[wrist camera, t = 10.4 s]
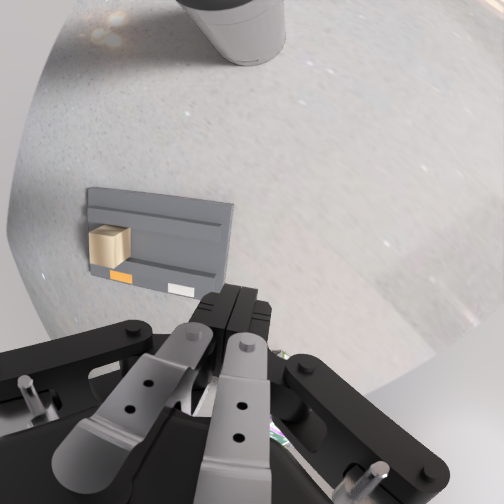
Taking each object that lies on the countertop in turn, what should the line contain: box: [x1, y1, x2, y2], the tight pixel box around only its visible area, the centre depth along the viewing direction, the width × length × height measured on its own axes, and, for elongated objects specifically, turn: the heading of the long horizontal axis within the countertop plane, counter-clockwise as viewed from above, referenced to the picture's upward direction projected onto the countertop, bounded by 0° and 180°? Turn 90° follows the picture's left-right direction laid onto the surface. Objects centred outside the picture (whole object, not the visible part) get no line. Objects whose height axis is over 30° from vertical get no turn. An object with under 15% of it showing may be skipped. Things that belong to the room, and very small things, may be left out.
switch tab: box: [89, 224, 131, 269], centre depth 39 cm, size 4×4×5 cm
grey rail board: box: [87, 187, 234, 300], centre depth 41 cm, size 22×14×3 cm, turn 82°
